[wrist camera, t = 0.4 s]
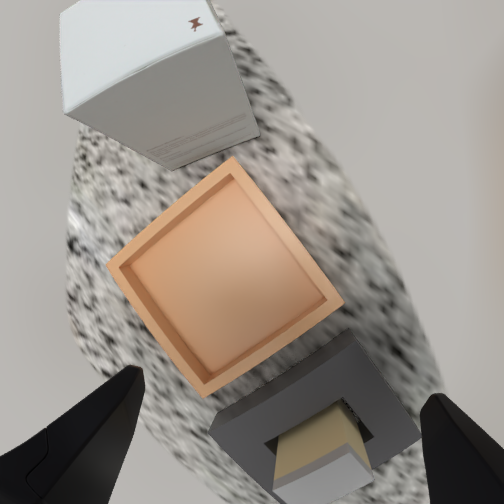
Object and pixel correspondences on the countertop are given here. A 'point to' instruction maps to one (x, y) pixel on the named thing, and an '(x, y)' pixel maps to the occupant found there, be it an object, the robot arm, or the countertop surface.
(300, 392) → the gray rectangular frame
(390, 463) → the countertop surface
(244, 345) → the parts tray
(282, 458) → the block
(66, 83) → the supplement box
